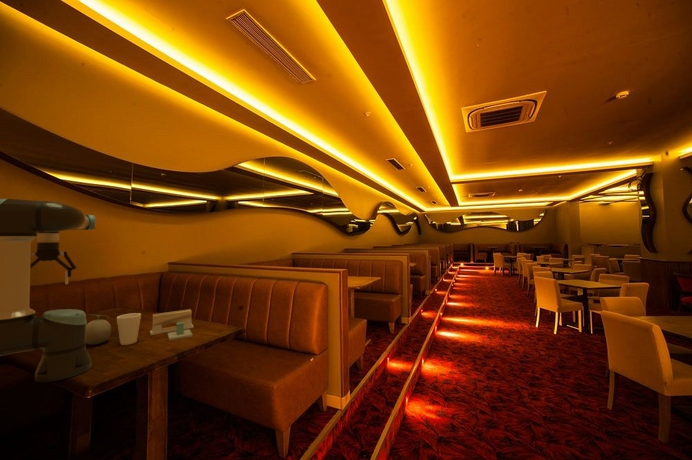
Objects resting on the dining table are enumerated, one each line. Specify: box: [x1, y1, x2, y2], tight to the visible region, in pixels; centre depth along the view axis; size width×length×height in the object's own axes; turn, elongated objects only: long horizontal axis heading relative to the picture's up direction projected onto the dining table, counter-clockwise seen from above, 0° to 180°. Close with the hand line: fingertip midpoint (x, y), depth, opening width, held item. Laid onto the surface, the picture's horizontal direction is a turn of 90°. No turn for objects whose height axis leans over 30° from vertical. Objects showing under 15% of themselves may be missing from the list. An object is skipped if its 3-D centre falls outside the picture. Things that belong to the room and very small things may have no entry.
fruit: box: [86, 313, 112, 346], centre depth 137 cm, size 10×12×15 cm
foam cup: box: [116, 312, 142, 346], centre depth 138 cm, size 10×9×13 cm
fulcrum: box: [167, 321, 193, 342], centre depth 146 cm, size 10×10×7 cm
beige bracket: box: [149, 320, 195, 336], centre depth 156 cm, size 6×20×4 cm, turn 127°
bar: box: [152, 308, 193, 327], centre depth 156 cm, size 5×18×5 cm, turn 127°
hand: (47, 285), depth 139 cm, fingers open, 13 cm apart
